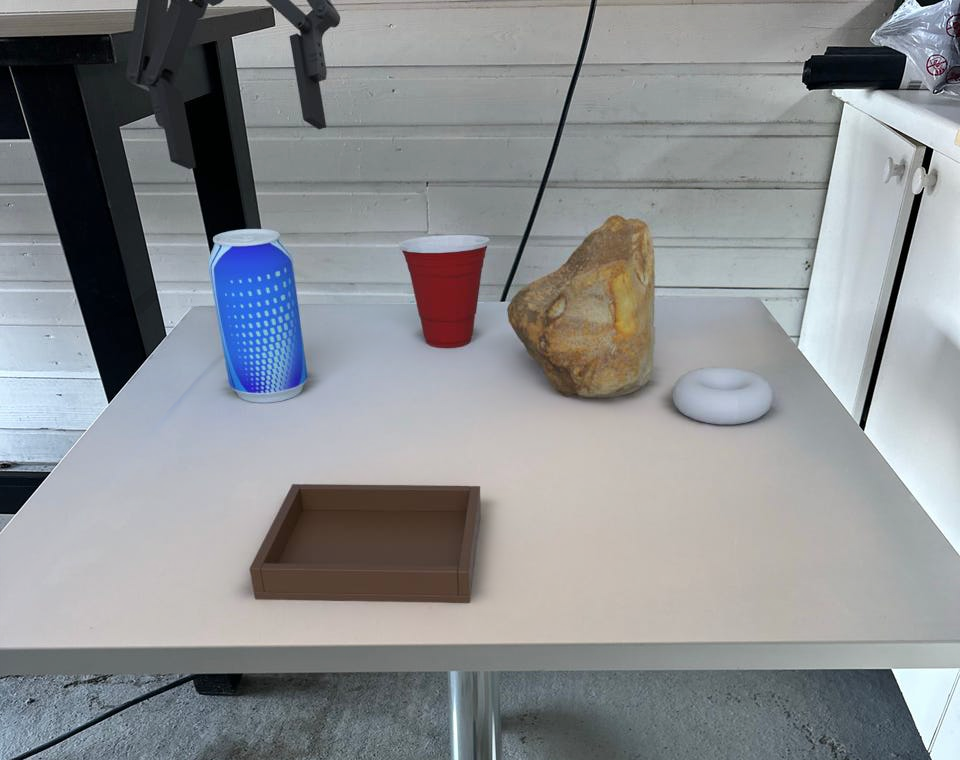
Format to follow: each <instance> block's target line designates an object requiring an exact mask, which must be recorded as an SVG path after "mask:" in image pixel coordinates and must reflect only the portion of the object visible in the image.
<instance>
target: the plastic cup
mask: <svg viewBox="0 0 960 760" xmlns="http://www.w3.org/2000/svg"><path fill="white" fill-rule="evenodd" d="M490 242H491V239H490V238H489V237H487V236H482V235H474V234H473V235H472V234H445V235H431V236H430V235H429V236H422V237H414V238H409V239H405V240H402V241H399V242H398V246H399V250H400V251H402V254H403V256H404V259H405V262H406V265H407V269H408V272H409V276H410V280H411V285H412V289H413V294H414V299H415V303H416V308H417V314H418V316H419V318H420V325H421V327H422V333H423V338H424V339H425V342H426V344H427V345H428V346H431V347H435V348H443V349H450V348H457V347H464V346H465V345H468V344H470V343H471V341H472V336H473V335H474V334H473V333H474V327H475V326H474V325H475V319H476V314H477V311H478V310H477V309H478V302H479V295H480V287H481V281H482V280H481V279H482V273H483V272H482V271H483V268H484V261H485V257H486V252H487V248H488V245H490Z"/></svg>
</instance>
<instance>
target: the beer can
mask: <svg viewBox="0 0 960 760" xmlns="http://www.w3.org/2000/svg"><path fill="white" fill-rule="evenodd" d="M212 241H213V243H214V244H213V247H212V250H211V252H210V255H209V258H208V260H207V268H208V273H209V279H210V285H211V290H212V295H213V300H214V306H215V312H216V316H217V323H218V329H219V334H220V335H219V336H220V340H221V345H222V346H221V347H222V351H223V356H224V361H225V368H226V374H227V379H228V384H229V387H230V388H231V390H234V392H236V393H237V395H238V397H239V398H240V399H242V400H244V401H246V402H250V403H259V404H264V403H265V404H267V403H278V402H282V401H287V400H290V399H292V398H295V397H296V396H298V395H299V394H301V392H302V391H303V388H304V385H305V384H306V381H307V380H308V371H307V363H306V355H305V346H304V337H303V332H302V331H303V330H302V324H301V316H300V309H299V307H300V306H299V299H298V292H297V285H296V284H297V283H296V278H295V267H294V261H293V256H292V254H291V253H290V251H289V250H288V249H287V247H286V246H285V245H284V243H283V241H281V234H280V232H278V231H277V230H273V229H267V228H265V229H264V228H244V229H235V230H229V231H225V232H221V233H218V234H215V235H214V236H213V238H212Z"/></svg>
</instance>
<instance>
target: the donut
mask: <svg viewBox="0 0 960 760" xmlns="http://www.w3.org/2000/svg"><path fill="white" fill-rule="evenodd" d="M772 389H773V388H772V387H771V385H770V383H769V382H768V381H767V380H766V379H765V378H763V377H762V376H760V375H758V374H756V373H754V372H751V371H749V370H745V369H741V368H736V367H728V366H727V367H726V366H710V367H701V368H697V369H693V370H691V371H688V372H686V373H684V374H682V375H681V376H680V377H678V379H677V380H676V382H675V384H674V385H673V387H672V390H671V398H672V401H673V404H674V407H675V408H676V409H677V410H678V411H679V412H680V413H681V414H683V415H684V416H686V417H688V418H691V419H693V420H695V421H699V422H702V423H706V424H714V425H725V426H726V425H728V426H729V425H730V426H731V425H740V424H746V423H750V422H752V421H756V420H757V419H759V418H761V417H762V416H764V415H765V414H767V413H768V411H769V410H770V408H771V405H772V403H773V400H774V391H773V390H772Z"/></svg>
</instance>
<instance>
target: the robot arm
mask: <svg viewBox="0 0 960 760" xmlns="http://www.w3.org/2000/svg"><path fill="white" fill-rule="evenodd" d="M224 1H225V0H170V2H169V0H137V2H136V8H135V14H134V15H135V16H134V20H133V21H134V22H133V28H132V34H131V41H130V48H129V54H128V61H127V67H126V73H125V74H126V76H125V77H126V80H127V81H128V82H130V83H132V84H133V85H135V86H137V87H139V88H141V89H143V90H145V91H147V92H149V93H150V94H149V95H150V98H151V104H152V108H153V113H154V119H155V122H156V125H158V127H160V128H162V129H164V134H165V138H166V144H167V149H168V154H169V159H170V162H171V163H174V164H175V165H178V166H180V167H183V168H185V169H187V170H191V169H195V168H197V164H196V160H195V154H194V149H193V144H192V138H191V133H190V127H189V122H188V118H187V117H188V116H187V112H186V106H185V101H184V96H183V95H184V94H183V91H182V89H179V88H177V87H176V86H175V83H176V81H177V78H178V75H179V73H180V70H181V68H182V64H183V61H184V59H185V56H186V53H187V51H188V48H189V46H190V43H191V40H192V37H193V35H194V32H195V30H196V27H197V24H198V21H199V20H201V19H203V18H204V16H205V14H206V11H207V8H208V7H209V5H210V6H211V7H214V6H217V5H220V4H222V3H223V2H224ZM265 1H266V2H267V3H268V4H269V5H271V6H272V8H273V9H275V10H276V11H277V12H278V13H279V14H280V15H282V17H284V18H285V19H286V20H287V21H288V22H289V23H291V25H292V26H293V27H294V28H296V29H297V30H298V31H299V33H298V32H297V33H293V34H291V35H289V42H290V48H291V53H292V61H293V65H294V71H295V77H296V78H295V79H296V84H297V91H298V97H299V102H300V108H301V114H302V120H303V121H304V122H306V123H308V124H309V125H310V126H311V127H313V128H315V129H317V130H322V129H325V128H327V122H326V116H325V110H324V104H323V98H322V90H321V84H320V82H322V81H325V80H327V75H328V71H327V65H326V59H325V52H324V46H323V37H324V34H325V33H326V32H327V31H328V30H329V29H331V28H337V27H338V26H339V25H340V23H341V15H340V14H339V11H338V10H337V9H336V7H335V6H334V4H333V3H332V1H331V0H306V2H307V3H308V5H309V7H310V8H311V9H312V10H310V12H308V13H307V14H306V13H305V12H304V11H303V10H302V9H300V7H298V6H297V5H296V4H295V3H294V2H293V1H292V0H265Z"/></svg>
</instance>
